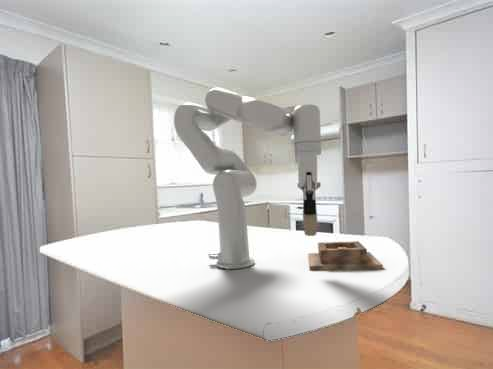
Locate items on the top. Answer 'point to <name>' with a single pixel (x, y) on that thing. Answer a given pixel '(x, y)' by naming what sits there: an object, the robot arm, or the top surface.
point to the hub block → (342, 257)
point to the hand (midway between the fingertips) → (309, 213)
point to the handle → (310, 217)
